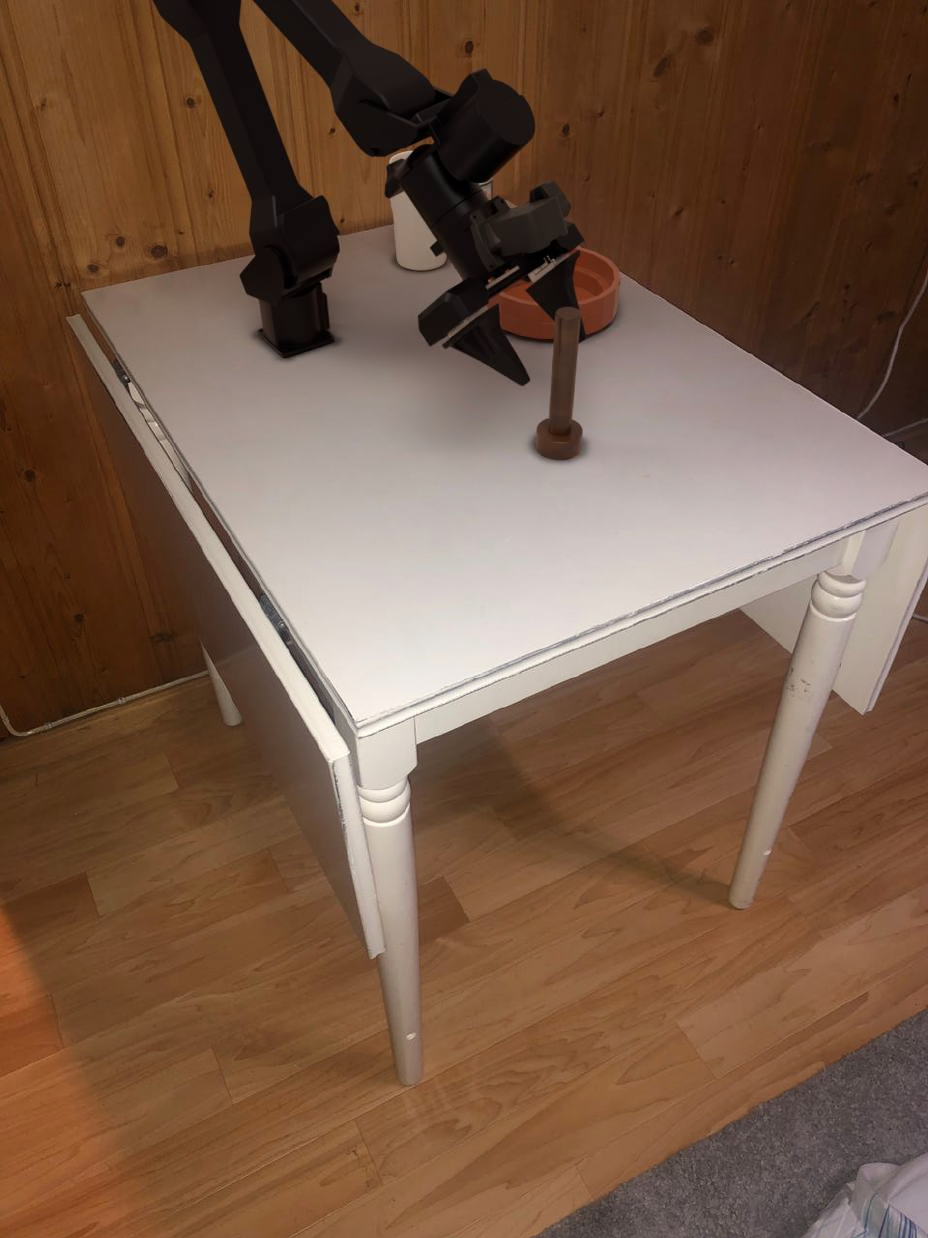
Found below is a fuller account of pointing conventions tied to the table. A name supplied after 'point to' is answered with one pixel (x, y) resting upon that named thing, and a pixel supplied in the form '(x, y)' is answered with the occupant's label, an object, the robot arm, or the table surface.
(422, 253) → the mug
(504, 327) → the bowl
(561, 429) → the stick
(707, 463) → the table surface
